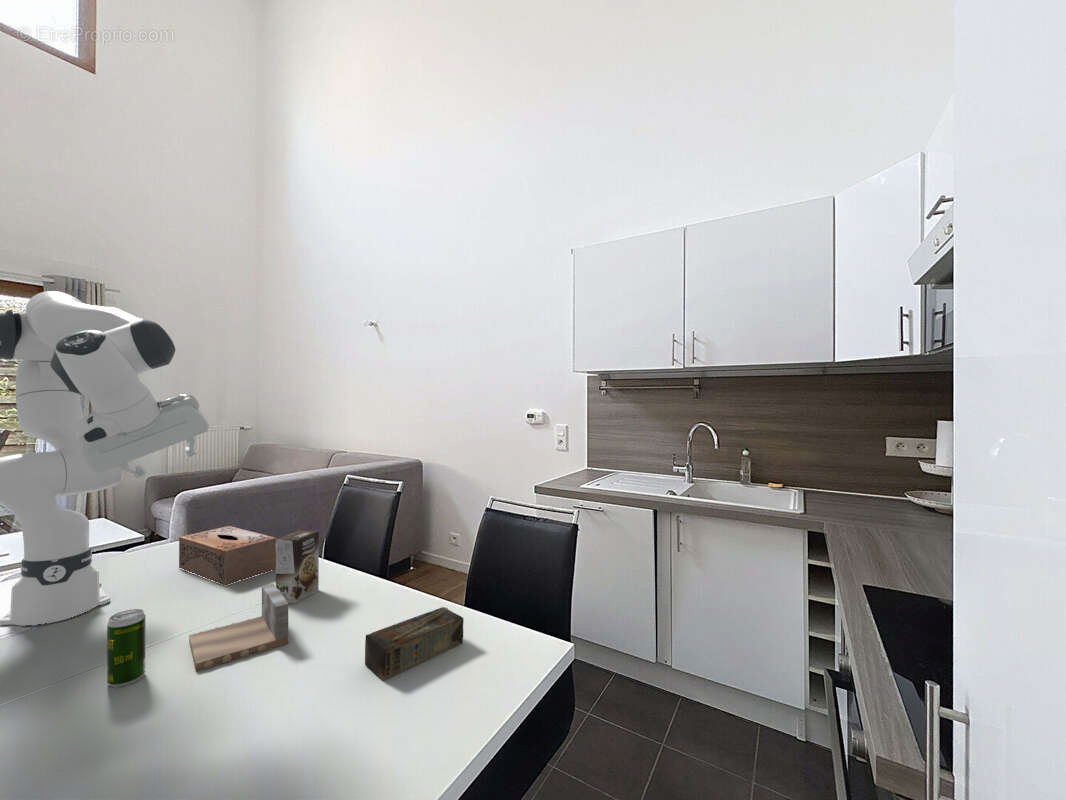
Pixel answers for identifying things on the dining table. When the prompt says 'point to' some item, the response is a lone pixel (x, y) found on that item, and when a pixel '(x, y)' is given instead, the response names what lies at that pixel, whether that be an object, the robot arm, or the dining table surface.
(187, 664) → the dining table surface
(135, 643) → the green soda can
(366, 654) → the beverage carton
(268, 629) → the roller pallet
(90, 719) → the dining table surface
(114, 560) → the dining table surface
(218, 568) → the tissue box cover
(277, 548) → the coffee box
